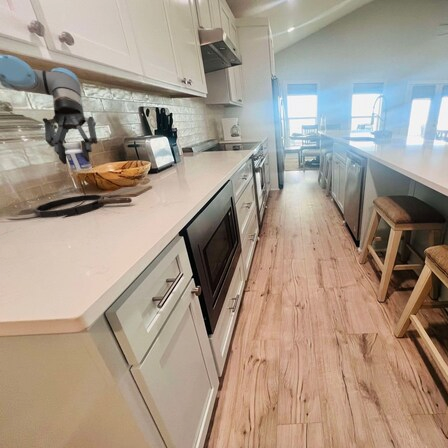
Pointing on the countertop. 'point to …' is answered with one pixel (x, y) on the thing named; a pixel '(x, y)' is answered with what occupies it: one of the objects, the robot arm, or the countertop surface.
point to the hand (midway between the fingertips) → (74, 160)
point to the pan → (79, 209)
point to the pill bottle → (76, 157)
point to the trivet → (128, 191)
